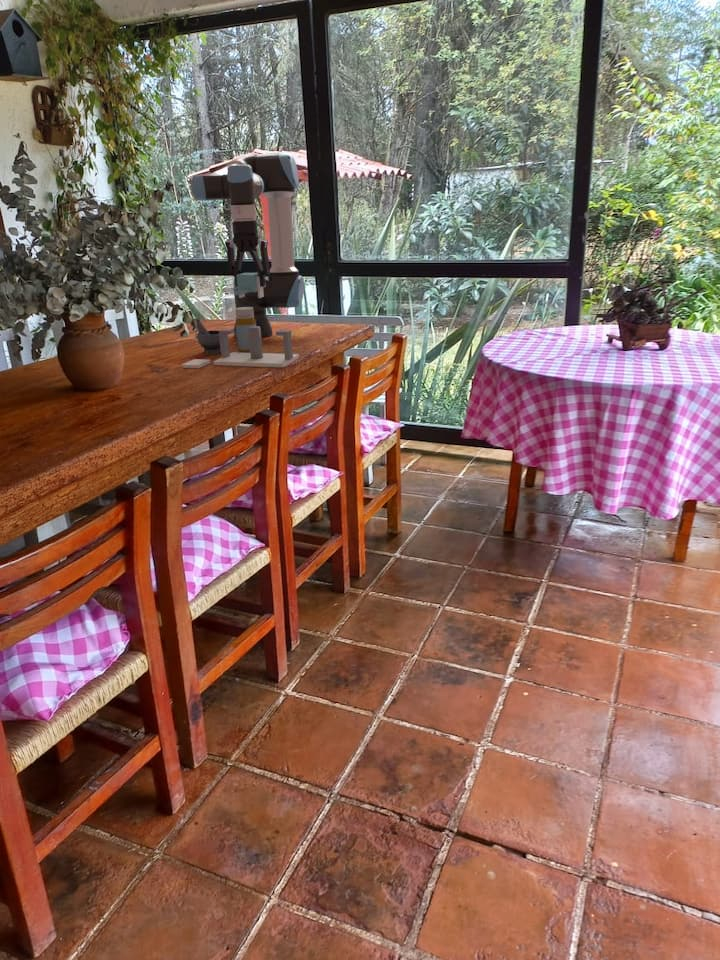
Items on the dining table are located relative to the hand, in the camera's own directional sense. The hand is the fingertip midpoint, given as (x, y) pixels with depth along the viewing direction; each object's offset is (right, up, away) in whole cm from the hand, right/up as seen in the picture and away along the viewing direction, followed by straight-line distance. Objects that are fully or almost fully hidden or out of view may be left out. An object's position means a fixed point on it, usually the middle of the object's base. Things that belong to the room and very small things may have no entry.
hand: (251, 297), depth 222 cm
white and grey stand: (+1, -19, +8) cm, 21 cm away
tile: (-19, -21, +6) cm, 29 cm away
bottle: (-5, -13, +23) cm, 27 cm away
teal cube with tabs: (0, +2, -1) cm, 2 cm away
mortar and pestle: (-18, -13, +24) cm, 33 cm away
